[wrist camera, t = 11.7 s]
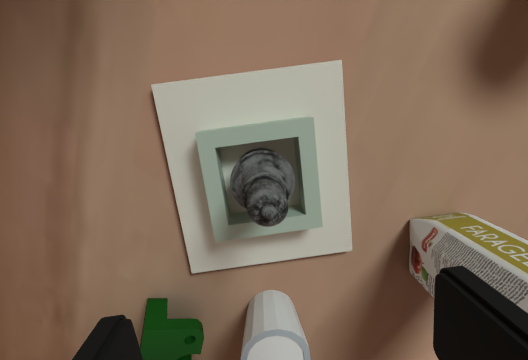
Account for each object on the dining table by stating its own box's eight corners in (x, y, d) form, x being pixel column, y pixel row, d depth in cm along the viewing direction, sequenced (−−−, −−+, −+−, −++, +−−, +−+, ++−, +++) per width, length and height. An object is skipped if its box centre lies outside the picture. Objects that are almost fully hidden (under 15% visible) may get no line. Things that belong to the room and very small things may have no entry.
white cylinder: (310, 310, 35) (325, 360, 28) (267, 343, 36) (272, 399, 29) (273, 274, 33) (279, 317, 26) (230, 309, 34) (225, 359, 27)
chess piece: (238, 139, 28) (231, 161, 17) (295, 151, 29) (328, 181, 17) (227, 195, 30) (213, 251, 18) (282, 205, 30) (303, 267, 19)
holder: (154, 85, 28) (139, 81, 24) (338, 61, 28) (352, 54, 24) (193, 268, 32) (186, 290, 29) (349, 246, 33) (362, 264, 29)
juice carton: (402, 278, 34) (580, 476, 16) (402, 211, 32) (607, 350, 14) (463, 270, 34) (709, 455, 16) (467, 203, 32) (757, 328, 14)
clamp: (187, 333, 40) (185, 415, 33) (141, 335, 38) (128, 423, 31) (204, 286, 33) (207, 377, 26) (149, 286, 31) (136, 384, 24)
